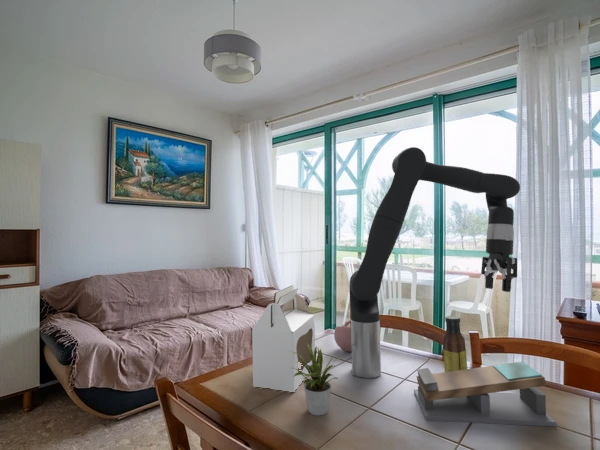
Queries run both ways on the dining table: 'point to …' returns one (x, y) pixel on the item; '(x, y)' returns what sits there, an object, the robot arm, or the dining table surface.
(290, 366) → the gable box
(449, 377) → the seesaw plank
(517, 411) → the seesaw stand
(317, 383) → the house plant
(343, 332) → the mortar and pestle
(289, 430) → the dining table surface
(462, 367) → the sauce bottle
